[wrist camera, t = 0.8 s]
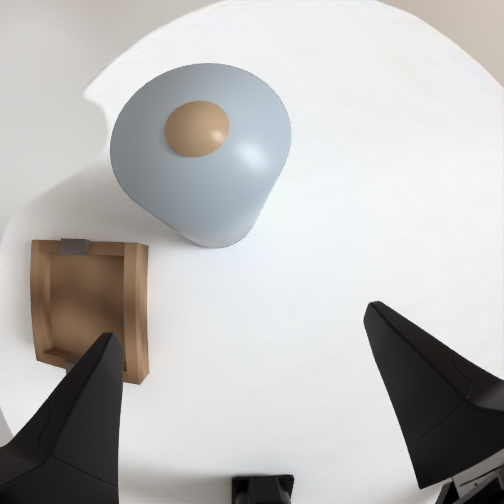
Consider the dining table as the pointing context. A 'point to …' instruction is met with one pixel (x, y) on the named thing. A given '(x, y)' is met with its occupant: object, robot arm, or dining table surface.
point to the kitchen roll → (202, 150)
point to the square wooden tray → (89, 301)
